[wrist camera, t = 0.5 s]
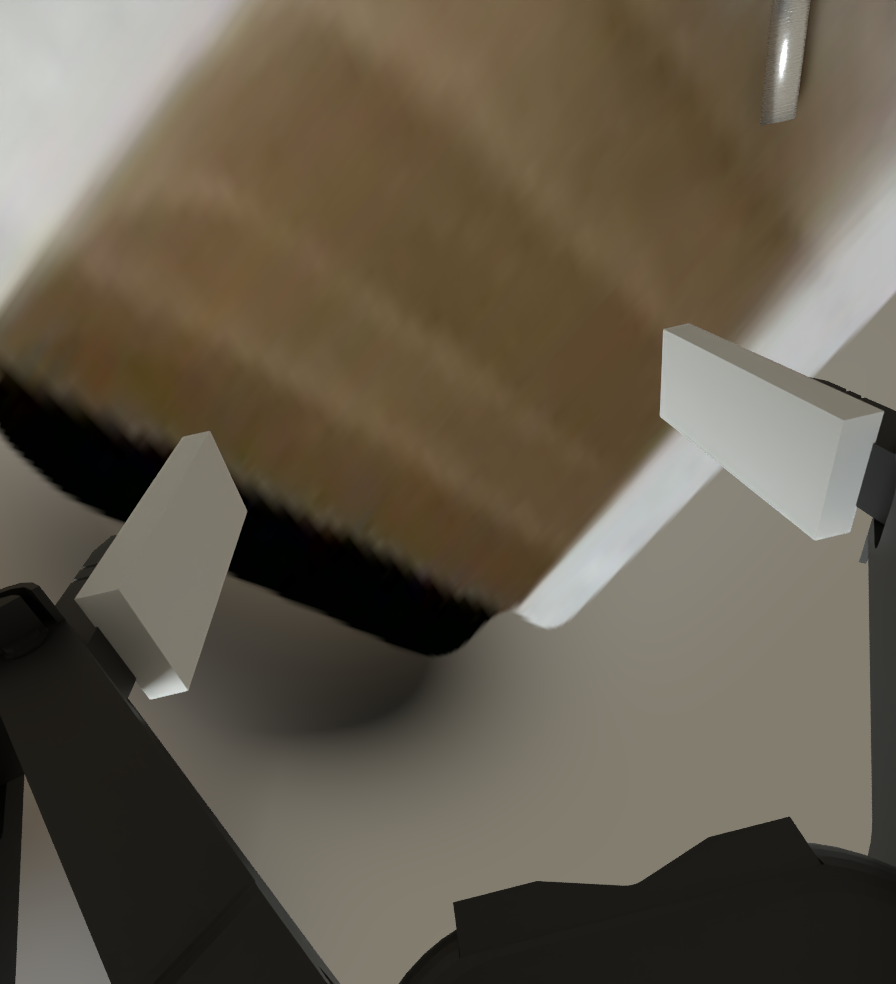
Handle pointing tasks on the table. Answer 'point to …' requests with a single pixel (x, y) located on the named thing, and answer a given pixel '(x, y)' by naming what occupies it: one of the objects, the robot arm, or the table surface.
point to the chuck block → (784, 60)
